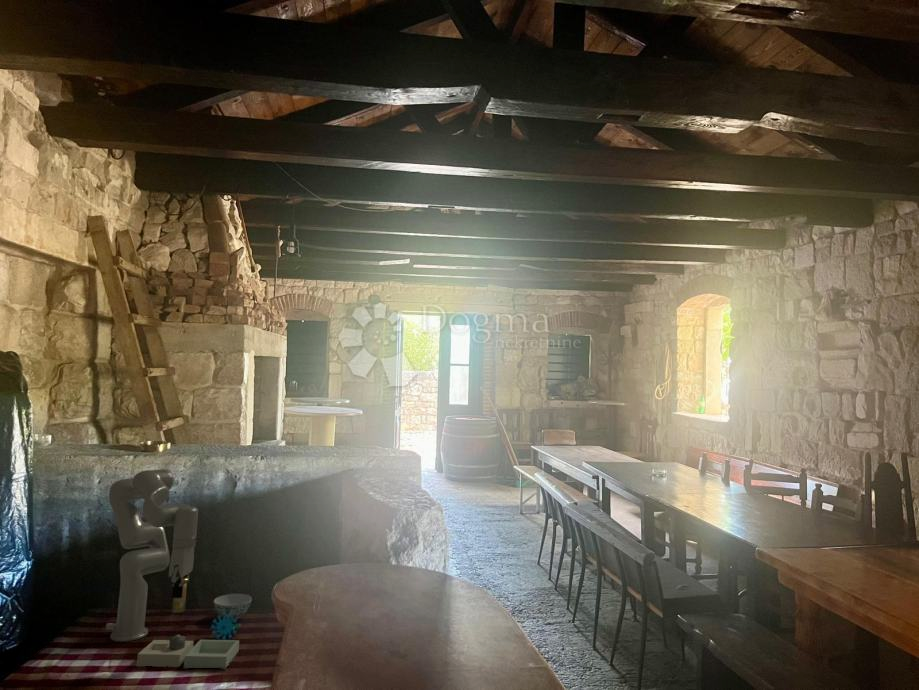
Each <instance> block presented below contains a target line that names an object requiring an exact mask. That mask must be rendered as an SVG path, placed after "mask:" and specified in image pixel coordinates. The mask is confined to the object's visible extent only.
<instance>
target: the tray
mask: <svg viewBox="0 0 919 690" xmlns="http://www.w3.org/2000/svg"><path fill="white" fill-rule="evenodd" d="M239 648H240V640H231V639H225V640H222V639H199V640H198V641H197V642H196V644H195V645H193V648H192V649H191V650H190V651H189V652H188V653H187V654H186V655H185V659H184V662H183V669H188V668H221V669H220V670H226V669H227V668H226V667H227V666H230V664H231V663H232V661H233V660H234V658H235V657H236V656H237V654H238V653H239V651H240V649H239ZM230 662H231V663H230ZM229 663H230V664H229Z"/></svg>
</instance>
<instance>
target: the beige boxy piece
mask: <svg viewBox="0 0 919 690" xmlns="http://www.w3.org/2000/svg"><path fill="white" fill-rule="evenodd" d="M193 647H194V640H186V636H185V635H181V634H176V635H174V636H171V637H170V638H169V639H153V640H152V642H150V643H148V645H147V646H145V647H144V648H143V649H142V650H140V652H138V653H137V660H136V667H145V666H152V667H153V666H154V667H155V668H156V667H157V668H160V667H161V668H162V667H163V668H164V667H165V668H179V667H180V666H182V664H184V659H185V655H186V654H187V653H188V652H189V651H190V650H191V649H192V648H193ZM167 666H168V667H167Z"/></svg>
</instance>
